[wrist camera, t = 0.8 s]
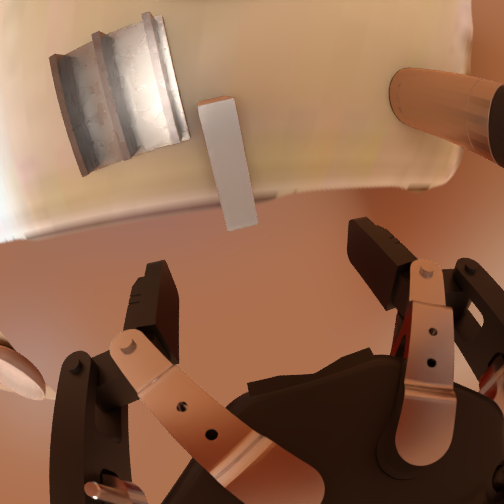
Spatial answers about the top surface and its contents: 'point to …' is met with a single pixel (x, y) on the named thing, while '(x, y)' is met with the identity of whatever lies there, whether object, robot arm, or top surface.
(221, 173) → the dish slab
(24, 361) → the serving bowl
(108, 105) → the dish rack
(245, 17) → the top surface
